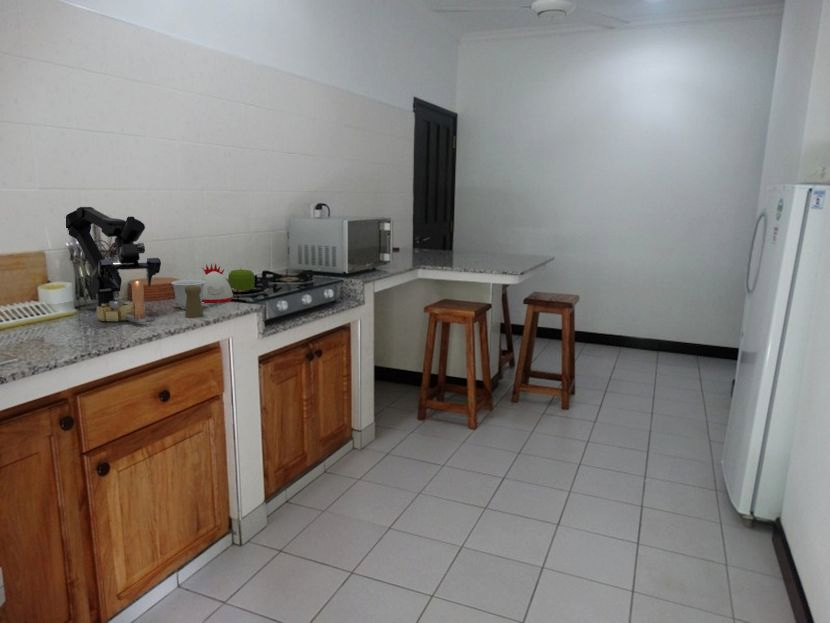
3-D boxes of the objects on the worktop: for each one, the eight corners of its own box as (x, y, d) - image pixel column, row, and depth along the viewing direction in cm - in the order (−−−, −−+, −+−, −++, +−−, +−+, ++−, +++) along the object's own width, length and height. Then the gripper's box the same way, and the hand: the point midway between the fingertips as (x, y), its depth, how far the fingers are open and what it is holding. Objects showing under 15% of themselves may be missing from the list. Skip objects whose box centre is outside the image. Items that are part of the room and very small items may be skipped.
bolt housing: (78, 319, 192) (77, 300, 191) (134, 312, 205) (133, 294, 203) (97, 328, 180) (95, 308, 178) (155, 320, 192) (154, 301, 191)
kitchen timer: (196, 298, 235) (194, 262, 232) (231, 296, 240) (229, 261, 238) (197, 304, 223) (195, 266, 220) (234, 302, 228) (233, 265, 225)
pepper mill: (205, 314, 204) (204, 283, 202) (200, 318, 198) (198, 286, 196) (188, 314, 204) (186, 283, 202) (182, 317, 198) (180, 286, 196)
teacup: (182, 314, 204) (180, 286, 202) (167, 307, 215) (166, 281, 213) (215, 310, 212) (214, 283, 210) (199, 304, 223) (198, 278, 221)
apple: (240, 295, 243) (239, 270, 241) (223, 293, 249) (222, 268, 247) (260, 292, 253) (259, 267, 250) (243, 289, 258) (242, 265, 256)
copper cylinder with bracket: (91, 318, 190) (87, 277, 188) (123, 313, 200) (120, 274, 197) (126, 326, 180) (123, 283, 177) (158, 320, 189) (156, 279, 186)
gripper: (96, 235, 186) (104, 273, 179) (158, 234, 196) (167, 270, 190) (94, 256, 193) (102, 294, 187) (154, 254, 204) (163, 290, 198)
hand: (134, 286), depth 190 cm, fingers open, 9 cm apart
